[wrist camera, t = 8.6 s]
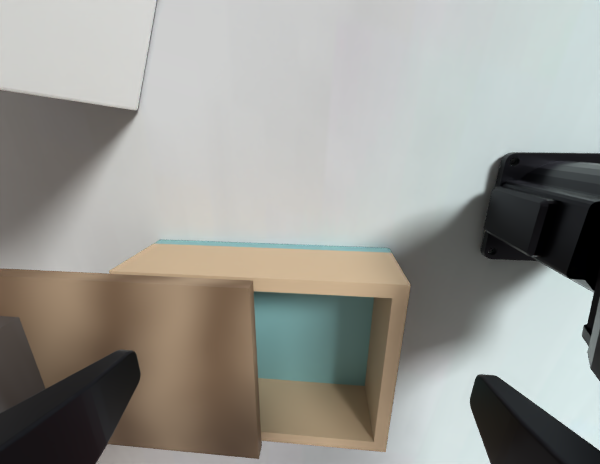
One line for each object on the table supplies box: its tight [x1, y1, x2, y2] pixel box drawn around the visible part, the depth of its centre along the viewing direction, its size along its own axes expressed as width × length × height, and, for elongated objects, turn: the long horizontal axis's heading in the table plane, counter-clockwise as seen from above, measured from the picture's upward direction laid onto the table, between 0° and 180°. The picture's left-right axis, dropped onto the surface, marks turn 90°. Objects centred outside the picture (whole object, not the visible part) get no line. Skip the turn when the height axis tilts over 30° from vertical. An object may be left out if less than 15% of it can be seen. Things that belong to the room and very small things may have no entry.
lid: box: [0, 269, 262, 459], centre depth 14 cm, size 16×12×5 cm
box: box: [109, 240, 411, 452], centre depth 19 cm, size 16×12×5 cm
